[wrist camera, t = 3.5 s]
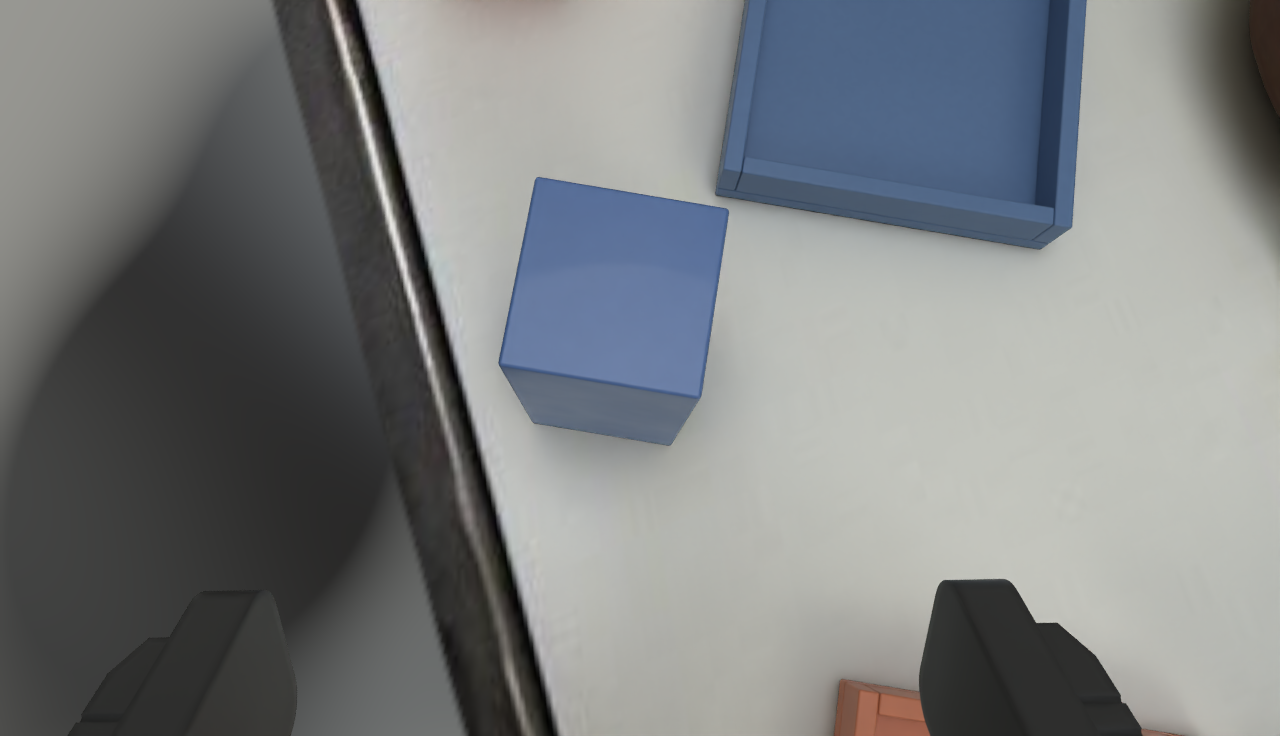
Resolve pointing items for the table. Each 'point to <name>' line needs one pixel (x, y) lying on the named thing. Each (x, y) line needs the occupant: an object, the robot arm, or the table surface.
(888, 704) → the terracotta tray
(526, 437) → the table surface
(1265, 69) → the dish
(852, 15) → the blue tray
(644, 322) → the blue block
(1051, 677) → the robot arm
